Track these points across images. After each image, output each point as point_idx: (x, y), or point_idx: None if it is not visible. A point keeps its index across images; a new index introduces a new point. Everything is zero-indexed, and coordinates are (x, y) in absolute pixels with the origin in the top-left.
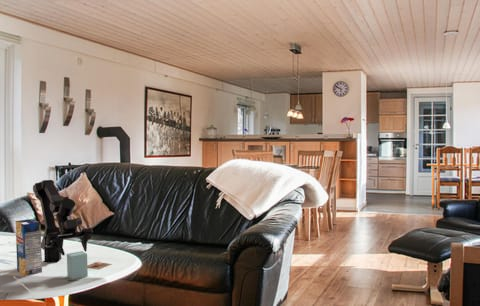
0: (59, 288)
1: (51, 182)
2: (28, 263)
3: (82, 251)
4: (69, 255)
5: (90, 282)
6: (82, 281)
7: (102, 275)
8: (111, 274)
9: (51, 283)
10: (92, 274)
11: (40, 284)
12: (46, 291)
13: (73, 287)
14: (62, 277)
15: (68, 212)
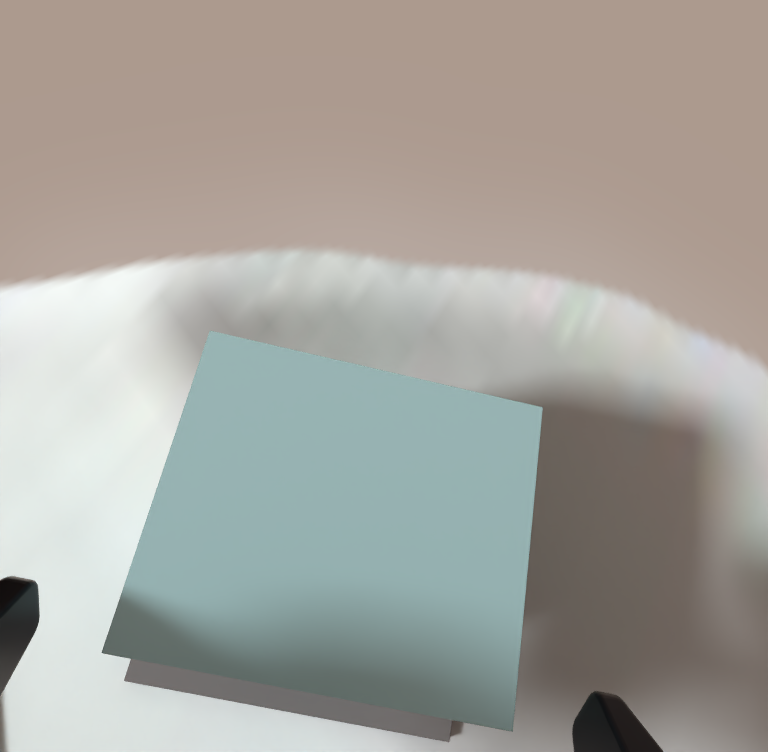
0: (620, 373)
1: None
2: None
3: (118, 618)
4: (530, 526)
5: (337, 289)
6: None
7: (98, 380)
8: (12, 329)
9: (624, 588)
10: (134, 513)
11: (724, 657)
12: (733, 393)
13: (519, 296)
14: None
15: None
